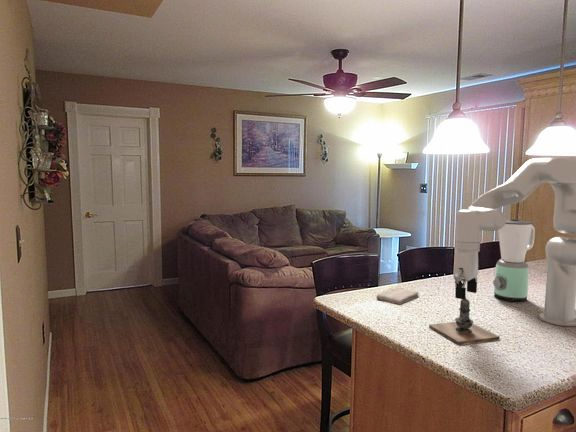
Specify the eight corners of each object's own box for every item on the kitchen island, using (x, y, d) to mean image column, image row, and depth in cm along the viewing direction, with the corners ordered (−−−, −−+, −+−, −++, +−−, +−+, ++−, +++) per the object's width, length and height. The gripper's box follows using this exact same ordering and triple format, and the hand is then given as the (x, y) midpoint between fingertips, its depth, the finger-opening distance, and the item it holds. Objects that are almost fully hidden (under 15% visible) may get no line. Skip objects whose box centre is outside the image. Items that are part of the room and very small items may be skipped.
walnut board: (466, 323, 157) (467, 320, 157) (499, 339, 142) (499, 336, 142) (429, 327, 153) (429, 324, 153) (458, 344, 138) (458, 341, 138)
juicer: (508, 304, 179) (513, 222, 175) (483, 295, 192) (487, 218, 188) (541, 300, 186) (547, 220, 182) (515, 292, 198) (520, 217, 194)
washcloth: (419, 296, 192) (420, 290, 191) (400, 306, 178) (401, 299, 178) (395, 291, 200) (395, 285, 199) (375, 300, 186) (376, 293, 186)
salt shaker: (457, 326, 152) (459, 293, 150) (475, 329, 148) (476, 296, 147) (452, 330, 147) (453, 296, 146) (470, 334, 143) (471, 300, 142)
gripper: (466, 241, 153) (465, 287, 155) (445, 248, 141) (444, 299, 143) (488, 243, 148) (486, 291, 150) (468, 251, 136) (467, 303, 138)
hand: (466, 295), depth 146 cm, fingers open, 9 cm apart
